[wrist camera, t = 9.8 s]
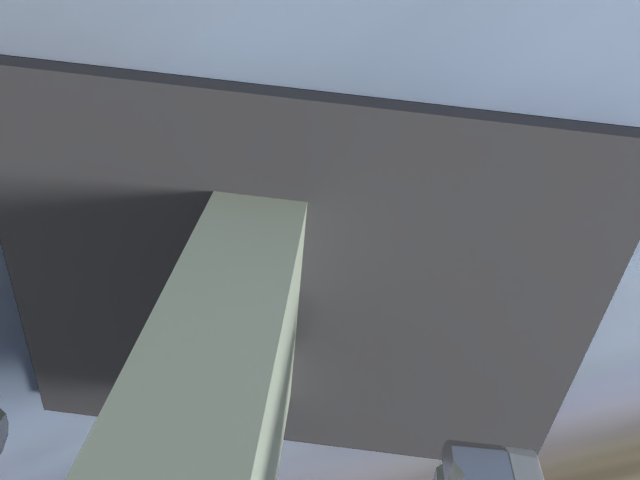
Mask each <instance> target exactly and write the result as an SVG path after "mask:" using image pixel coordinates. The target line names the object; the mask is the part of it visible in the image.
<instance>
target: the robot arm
mask: <svg viewBox="0 0 640 480" xmlns="http://www.w3.org/2000/svg"><path fill="white" fill-rule="evenodd" d="M7 436H8V420H7V416H6V413H5V412H4V411H2V410H1V409H0V454H1V453H2V451H3V449H4V445H5V442H6V439H7ZM441 454H442V463H443V464H442V465H440V466H439V467H437V468H436V470H435V474H434V478H433V480H544V477H543V473H542V470H541V466H540V463H539V460H538V456H537V455H536V453H535V452H534V451H533V450H529V449H521V448H513V447H503V446H502V445H493V444H484V443H475V442H466V441H457V440H447V441H446V442H445V443H444V446H443V449H442V452H441Z"/></svg>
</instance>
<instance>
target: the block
mask: <svg viewBox="0 0 640 480" xmlns="http://www.w3.org/2000/svg"><path fill="white" fill-rule="evenodd" d="M306 213H307V202H303V201H294V200H286V199H277V198H269V197H260V196H252V195H243V194H235V193H226V192H218V191H213V193H212V195H211V197H210V199H209V201H208V203H207V205H206V207H205V209H204V211H203V213H202V215H201V217H200V219H199V220H198V222H197V224H196V226H195V228H194V230H193V232H192V234H191V236H190V238H189V240H188V242H187V244H186V246H185V248H184V250H183V252H182V254H181V256H180V257H179V259H178V261H177V263H176V265H175V267H174V269H173V271H172V273H171V275H170V277H169V279H168V281H167V283H166V285H165V287H164V289H163V291H162V293H161V294H160V296H159V298H158V300H157V302H156V304H155V306H154V308H153V310H152V312H151V314H150V316H149V318H148V320H147V322H146V324H145V326H144V328H143V330H142V331H141V333H140V335H139V337H138V339H137V341H136V343H135V345H134V347H133V349H132V351H131V353H130V355H129V357H128V359H127V361H126V363H125V365H124V367H123V368H122V370H121V372H120V374H119V376H118V378H117V380H116V382H115V384H114V386H113V388H112V390H111V392H110V394H109V396H108V398H107V400H106V402H105V404H104V405H103V407H102V409H101V411H100V413H99V415H98V417H97V419H96V421H95V423H94V425H93V427H92V429H91V431H90V433H89V435H88V437H87V439H86V441H85V442H84V444H83V446H82V448H81V450H80V452H79V454H78V456H77V458H76V460H75V462H74V464H73V466H72V468H71V470H70V472H69V474H68V476H67V478H66V479H65V480H277V476H278V470H279V463H280V457H281V451H282V445H283V439H284V432H285V426H286V420H287V414H288V407H289V401H290V394H291V382H292V371H293V360H294V348H295V337H296V326H297V314H298V303H299V292H300V281H301V269H302V258H303V247H304V235H305V224H306Z"/></svg>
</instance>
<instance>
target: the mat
mask: <svg viewBox="0 0 640 480" xmlns="http://www.w3.org/2000/svg"><path fill="white" fill-rule="evenodd" d="M213 191H218V192H226V193H235V194H243V195H252V196H260V197H269V198H277V199H286V200H294V201H303V202H307V213H306V224H305V235H304V247H303V258H302V269H301V281H300V292H299V303H298V314H297V326H296V337H295V348H294V360H293V371H292V382H291V394H290V401H289V407H288V414H287V420H286V426H285V432H284V439H283V440H288V441H296V442H304V443H312V444H320V445H328V446H336V447H344V448H352V449H360V450H368V451H376V452H384V453H392V454H400V455H408V456H415V457H423V458H431V459H439V460H442V454H441V452H442V449H443V446H444V443H445V442H446V441H447V440H457V441H466V442H475V443H484V444H493V445H502V446H503V447H513V448H521V449H529V450H533V451H534V452H535V453H536V455H538V453H539V451H540V449H541V447H542V445H543V443H544V440H545V438H546V436H547V434H548V432H549V430H550V428H551V426H552V424H553V421H554V419H555V417H556V415H557V413H558V411H559V409H560V407H561V405H562V403H563V400H564V398H565V396H566V394H567V392H568V390H569V388H570V386H571V384H572V381H573V379H574V377H575V375H576V373H577V371H578V369H579V367H580V365H581V362H582V360H583V358H584V356H585V354H586V352H587V350H588V348H589V346H590V343H591V341H592V339H593V337H594V335H595V333H596V331H597V329H598V327H599V324H600V322H601V320H602V318H603V316H604V314H605V312H606V310H607V308H608V305H609V303H610V301H611V299H612V297H613V295H614V293H615V291H616V289H617V286H618V284H619V282H620V280H621V278H622V276H623V274H624V272H625V270H626V267H627V265H628V263H629V261H630V259H631V257H632V255H633V253H634V251H635V248H636V246H637V244H638V242H639V240H640V128H636V127H628V126H619V125H610V124H601V123H593V122H584V121H575V120H566V119H558V118H549V117H540V116H531V115H522V114H514V113H505V112H496V111H487V110H479V109H470V108H461V107H452V106H444V105H435V104H426V103H417V102H409V101H400V100H391V99H382V98H374V97H365V96H356V95H347V94H339V93H330V92H321V91H312V90H303V89H295V88H286V87H277V86H268V85H260V84H251V83H242V82H233V81H225V80H216V79H207V78H198V77H190V76H181V75H172V74H163V73H155V72H146V71H137V70H128V69H120V68H111V67H102V66H93V65H85V64H76V63H67V62H58V61H49V60H41V59H32V58H23V57H14V56H6V55H0V242H1V246H2V249H3V253H4V257H5V261H6V265H7V269H8V272H9V276H10V280H11V284H12V288H13V292H14V296H15V299H16V303H17V307H18V311H19V315H20V319H21V322H22V326H23V330H24V334H25V338H26V342H27V345H28V349H29V353H30V357H31V361H32V365H33V368H34V372H35V376H36V380H37V384H38V388H39V391H40V395H41V399H42V403H43V407H44V410H50V411H58V412H66V413H74V414H82V415H90V416H98V415H99V413H100V411H101V409H102V407H103V405H104V404H105V402H106V400H107V398H108V396H109V394H110V392H111V390H112V388H113V386H114V384H115V382H116V380H117V378H118V376H119V374H120V372H121V370H122V368H123V367H124V365H125V363H126V361H127V359H128V357H129V355H130V353H131V351H132V349H133V347H134V345H135V343H136V341H137V339H138V337H139V335H140V333H141V331H142V330H143V328H144V326H145V324H146V322H147V320H148V318H149V316H150V314H151V312H152V310H153V308H154V306H155V304H156V302H157V300H158V298H159V296H160V294H161V293H162V291H163V289H164V287H165V285H166V283H167V281H168V279H169V277H170V275H171V273H172V271H173V269H174V267H175V265H176V263H177V261H178V259H179V257H180V256H181V254H182V252H183V250H184V248H185V246H186V244H187V242H188V240H189V238H190V236H191V234H192V232H193V230H194V228H195V226H196V224H197V222H198V220H199V219H200V217H201V215H202V213H203V211H204V209H205V207H206V205H207V203H208V201H209V199H210V197H211V195H212V193H213Z"/></svg>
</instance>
